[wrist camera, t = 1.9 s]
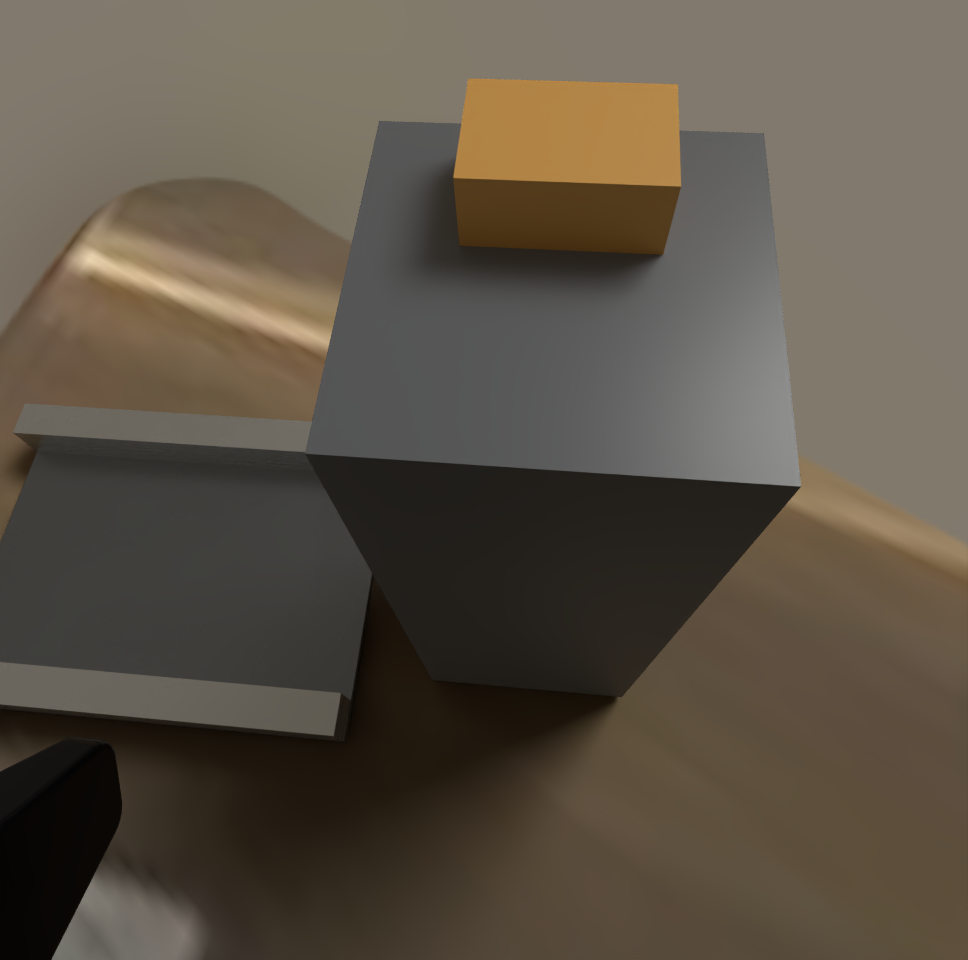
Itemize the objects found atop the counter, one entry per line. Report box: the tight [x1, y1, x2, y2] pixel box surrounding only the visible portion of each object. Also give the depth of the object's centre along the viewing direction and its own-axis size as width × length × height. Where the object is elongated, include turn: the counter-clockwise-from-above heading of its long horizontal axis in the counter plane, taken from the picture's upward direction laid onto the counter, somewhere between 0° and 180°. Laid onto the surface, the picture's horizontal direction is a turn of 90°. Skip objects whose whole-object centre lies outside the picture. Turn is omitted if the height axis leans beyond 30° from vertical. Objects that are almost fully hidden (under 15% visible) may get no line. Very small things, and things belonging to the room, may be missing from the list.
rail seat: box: [0, 404, 374, 742], centre depth 20 cm, size 8×11×2 cm
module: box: [305, 79, 801, 697], centre depth 14 cm, size 5×5×14 cm
